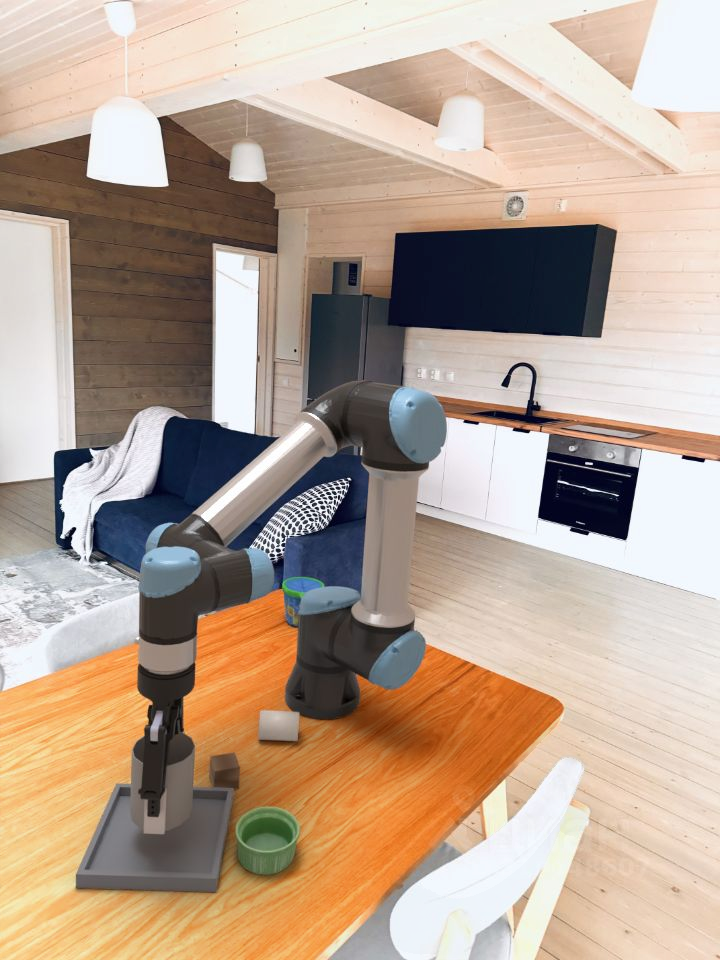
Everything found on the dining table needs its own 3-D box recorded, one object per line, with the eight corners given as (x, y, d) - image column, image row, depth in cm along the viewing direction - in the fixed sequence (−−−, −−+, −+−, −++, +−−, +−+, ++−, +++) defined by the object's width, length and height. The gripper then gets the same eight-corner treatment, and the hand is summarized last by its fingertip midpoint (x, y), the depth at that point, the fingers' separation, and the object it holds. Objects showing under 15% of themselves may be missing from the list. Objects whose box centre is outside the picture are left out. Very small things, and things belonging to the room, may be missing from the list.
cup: (201, 798, 101) (204, 737, 99) (175, 837, 93) (178, 771, 91) (148, 785, 102) (150, 725, 100) (118, 823, 94) (120, 758, 92)
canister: (296, 746, 125) (298, 722, 128) (298, 731, 121) (299, 706, 125) (257, 745, 124) (260, 720, 128) (258, 729, 121) (261, 704, 125)
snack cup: (322, 636, 167) (325, 597, 165) (278, 635, 166) (281, 595, 163) (320, 610, 182) (323, 574, 180) (280, 608, 181) (283, 572, 179)
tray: (233, 799, 108) (233, 788, 108) (216, 892, 91) (216, 878, 90) (116, 795, 107) (116, 783, 106) (75, 888, 89) (75, 874, 89)
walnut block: (233, 773, 114) (234, 752, 114) (238, 788, 111) (239, 767, 110) (209, 777, 113) (210, 756, 112) (213, 793, 109) (214, 771, 108)
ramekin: (243, 827, 103) (245, 802, 102) (302, 836, 102) (305, 811, 101) (225, 873, 94) (227, 846, 93) (290, 884, 93) (292, 856, 92)
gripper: (157, 626, 103) (153, 761, 108) (115, 702, 82) (112, 865, 87) (207, 629, 103) (201, 763, 108) (179, 706, 83) (173, 867, 87)
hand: (162, 808), depth 97 cm, fingers closed on cup, 8 cm apart
